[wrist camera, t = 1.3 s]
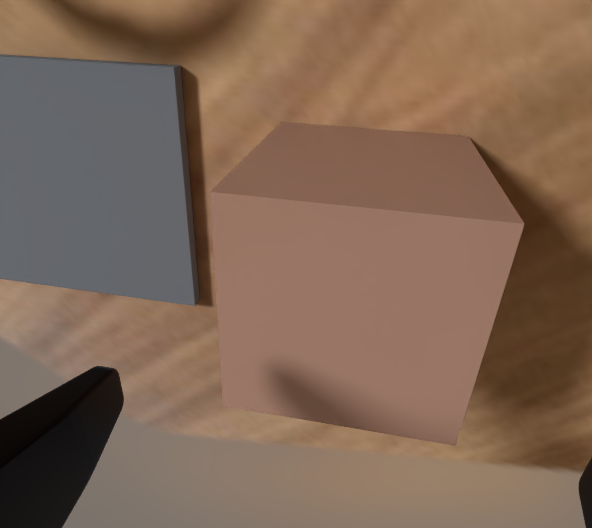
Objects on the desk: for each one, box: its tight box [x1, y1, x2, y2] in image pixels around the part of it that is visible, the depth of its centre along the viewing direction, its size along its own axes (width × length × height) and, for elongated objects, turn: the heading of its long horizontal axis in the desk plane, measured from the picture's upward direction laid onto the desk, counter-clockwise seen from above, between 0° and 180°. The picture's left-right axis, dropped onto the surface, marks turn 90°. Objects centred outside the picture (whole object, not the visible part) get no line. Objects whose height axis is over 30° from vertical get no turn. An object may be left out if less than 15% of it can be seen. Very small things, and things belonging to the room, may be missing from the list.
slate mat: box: [0, 55, 200, 306], centre depth 19 cm, size 10×10×1 cm
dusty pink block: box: [210, 122, 524, 445], centre depth 14 cm, size 7×7×8 cm
